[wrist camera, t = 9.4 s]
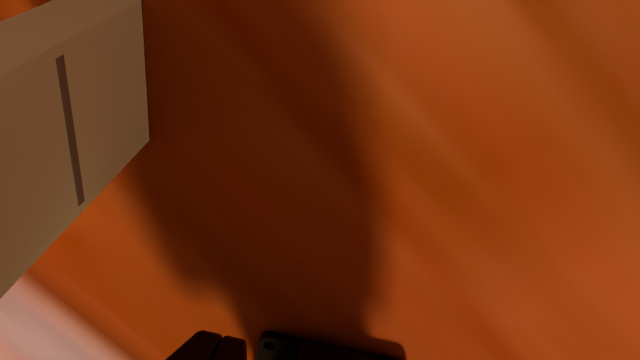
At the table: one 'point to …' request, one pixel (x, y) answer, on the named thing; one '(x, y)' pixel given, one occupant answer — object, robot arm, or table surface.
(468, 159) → the table surface
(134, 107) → the sage domino
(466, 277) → the table surface
